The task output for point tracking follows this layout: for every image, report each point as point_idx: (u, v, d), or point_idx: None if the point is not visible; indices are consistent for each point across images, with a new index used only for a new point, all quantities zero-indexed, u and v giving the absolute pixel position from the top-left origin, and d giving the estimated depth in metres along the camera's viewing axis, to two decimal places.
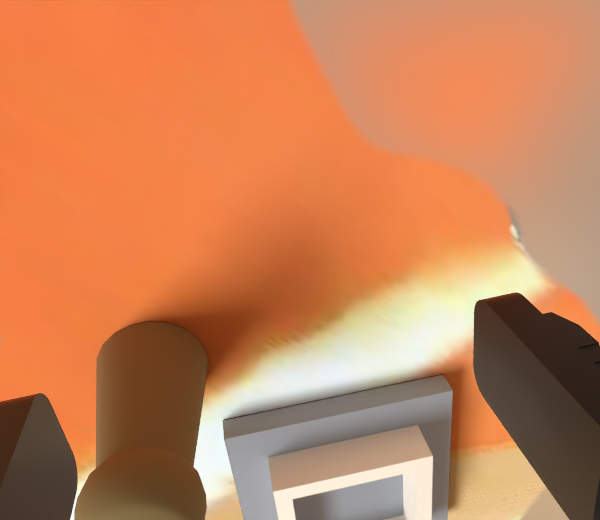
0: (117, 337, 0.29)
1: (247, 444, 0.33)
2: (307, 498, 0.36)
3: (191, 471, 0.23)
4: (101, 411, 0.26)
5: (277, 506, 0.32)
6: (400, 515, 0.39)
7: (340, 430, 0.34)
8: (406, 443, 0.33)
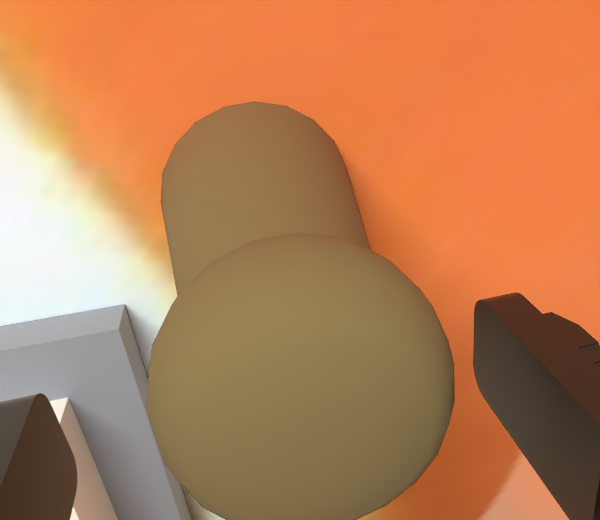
0: (337, 151, 0.17)
1: (104, 364, 0.18)
2: None
3: None
4: (328, 183, 0.13)
5: None
6: None
7: (132, 487, 0.21)
8: None
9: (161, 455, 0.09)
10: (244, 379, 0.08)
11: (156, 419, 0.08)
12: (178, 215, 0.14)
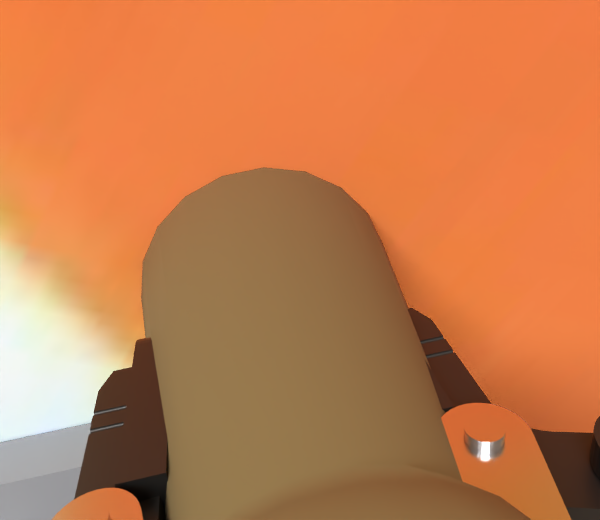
0: (373, 227, 0.13)
1: None
2: None
3: None
4: (381, 308, 0.09)
5: None
6: None
7: None
8: None
9: None
10: None
11: None
12: (162, 354, 0.09)
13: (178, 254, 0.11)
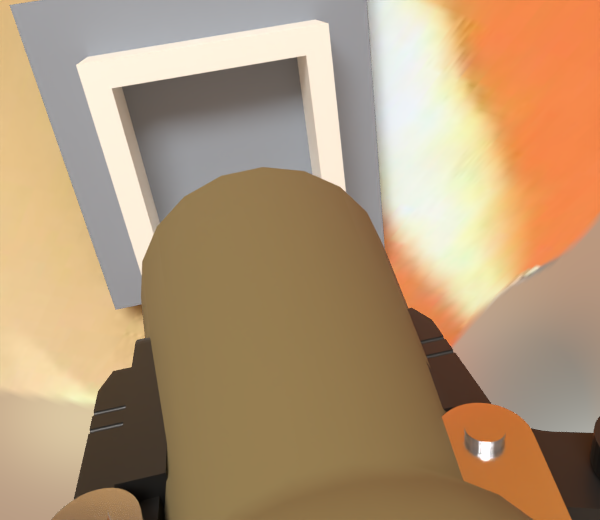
0: (372, 227, 0.13)
1: None
2: (218, 87, 0.24)
3: None
4: (380, 307, 0.09)
5: (294, 31, 0.21)
6: None
7: (347, 123, 0.26)
8: None
9: None
10: None
11: None
12: (161, 353, 0.09)
13: (177, 254, 0.11)
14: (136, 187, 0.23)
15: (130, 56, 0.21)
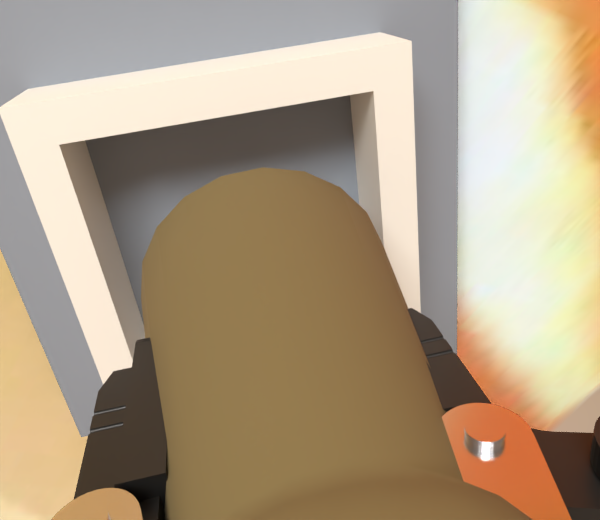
0: (372, 227, 0.13)
1: None
2: (230, 133, 0.16)
3: None
4: (381, 307, 0.09)
5: (357, 53, 0.13)
6: None
7: (417, 183, 0.18)
8: None
9: None
10: None
11: None
12: (161, 354, 0.09)
13: (177, 254, 0.11)
14: (103, 291, 0.15)
15: (89, 93, 0.12)
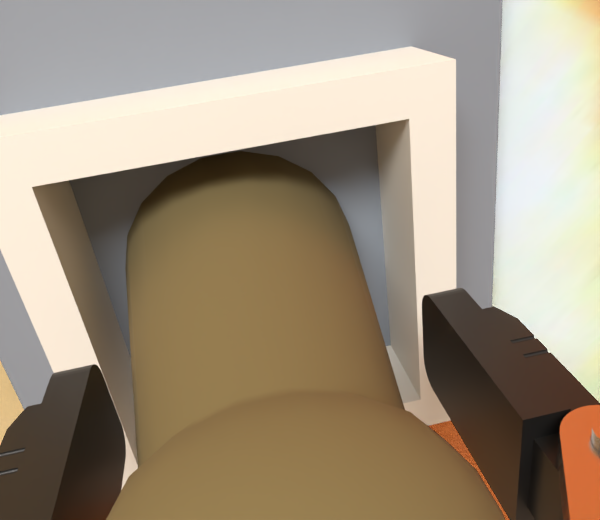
0: (340, 209, 0.14)
1: None
2: None
3: None
4: (334, 272, 0.10)
5: (391, 74, 0.11)
6: None
7: None
8: None
9: None
10: None
11: None
12: (140, 310, 0.10)
13: (158, 225, 0.12)
14: (87, 353, 0.12)
15: (67, 126, 0.10)
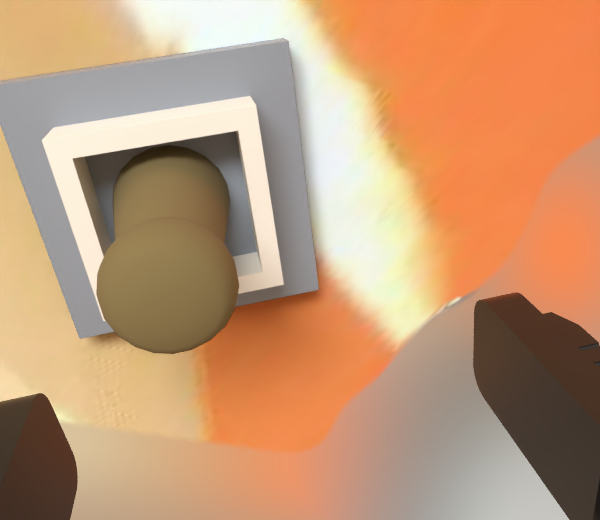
0: (219, 174, 0.28)
1: (275, 70, 0.27)
2: None
3: None
4: (199, 194, 0.24)
5: (227, 111, 0.25)
6: None
7: (281, 180, 0.30)
8: None
9: None
10: (134, 272, 0.19)
11: (99, 295, 0.20)
12: (118, 210, 0.25)
13: (127, 178, 0.26)
14: (94, 238, 0.27)
15: (88, 132, 0.24)
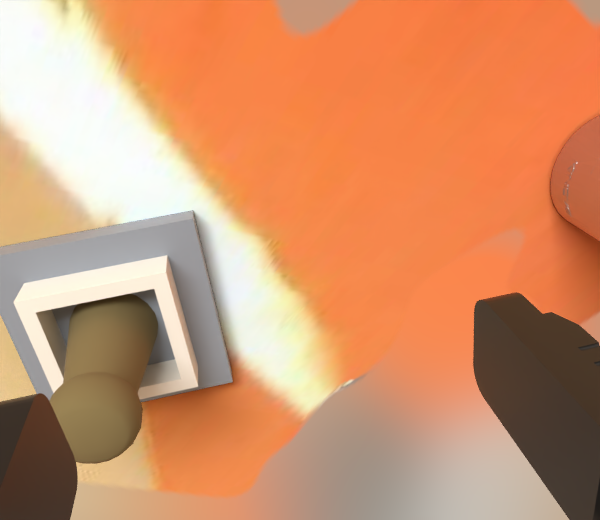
0: (148, 309, 0.39)
1: (185, 237, 0.37)
2: None
3: None
4: (123, 339, 0.35)
5: (145, 277, 0.35)
6: None
7: (196, 309, 0.40)
8: (194, 363, 0.40)
9: None
10: (65, 419, 0.29)
11: None
12: (68, 349, 0.35)
13: (76, 320, 0.36)
14: (54, 362, 0.37)
15: (46, 295, 0.35)
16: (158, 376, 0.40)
